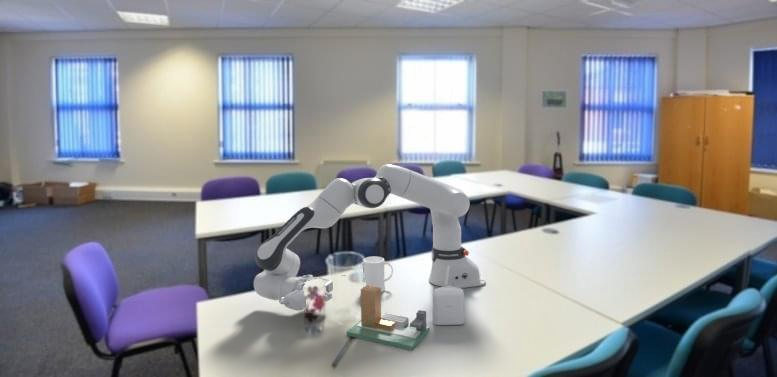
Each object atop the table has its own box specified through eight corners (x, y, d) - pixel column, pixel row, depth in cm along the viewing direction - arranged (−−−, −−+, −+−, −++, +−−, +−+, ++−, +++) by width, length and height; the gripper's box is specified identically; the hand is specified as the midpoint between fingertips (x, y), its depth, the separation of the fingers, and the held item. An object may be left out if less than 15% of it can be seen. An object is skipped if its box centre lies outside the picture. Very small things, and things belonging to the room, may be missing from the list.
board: (346, 335, 150) (346, 315, 149) (367, 317, 163) (367, 299, 162) (412, 350, 141) (412, 329, 140) (429, 330, 153) (429, 311, 152)
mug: (391, 284, 193) (391, 255, 191) (395, 292, 185) (394, 261, 183) (362, 285, 191) (361, 256, 189) (364, 294, 183) (363, 263, 181)
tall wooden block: (361, 325, 153) (360, 289, 151) (367, 320, 157) (366, 285, 155) (389, 331, 149) (389, 294, 147) (395, 326, 153) (395, 290, 151)
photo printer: (433, 326, 156) (433, 289, 154) (431, 320, 160) (432, 284, 158) (464, 326, 156) (465, 289, 154) (463, 320, 160) (463, 284, 158)
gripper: (275, 292, 155) (311, 299, 150) (311, 272, 174) (345, 278, 168) (276, 311, 156) (312, 319, 151) (312, 289, 175) (345, 296, 169)
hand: (329, 297), depth 159 cm, fingers closed
